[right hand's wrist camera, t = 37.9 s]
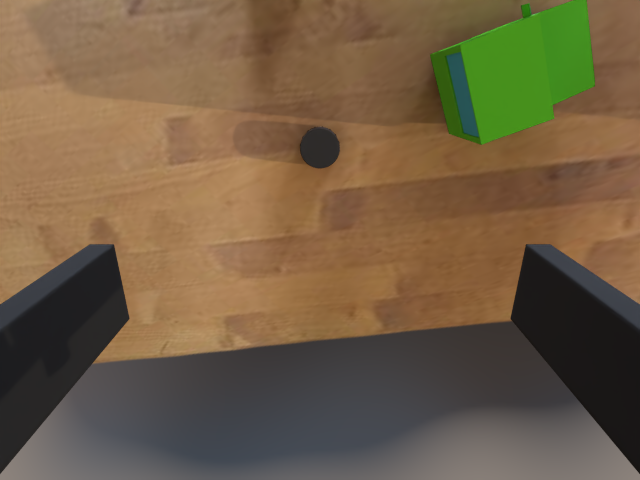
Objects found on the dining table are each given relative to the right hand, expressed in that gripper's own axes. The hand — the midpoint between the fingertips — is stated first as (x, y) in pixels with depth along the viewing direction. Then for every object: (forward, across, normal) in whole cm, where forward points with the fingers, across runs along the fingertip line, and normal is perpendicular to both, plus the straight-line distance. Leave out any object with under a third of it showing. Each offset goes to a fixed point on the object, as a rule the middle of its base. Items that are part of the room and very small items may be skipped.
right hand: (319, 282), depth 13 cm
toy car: (+32, -19, -8) cm, 38 cm away
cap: (+31, 0, 0) cm, 31 cm away
